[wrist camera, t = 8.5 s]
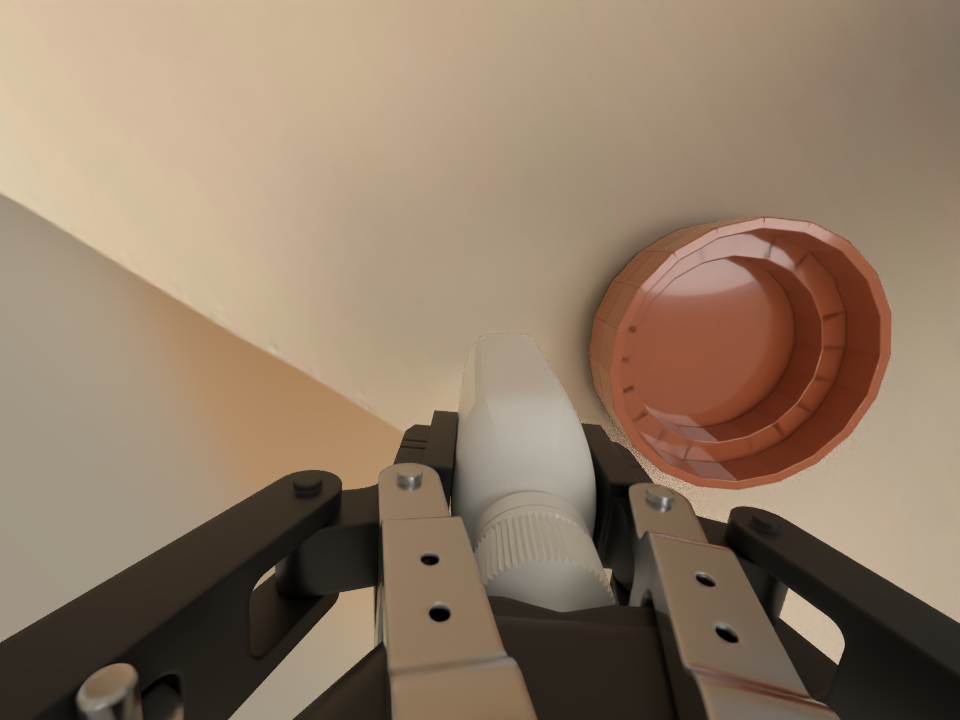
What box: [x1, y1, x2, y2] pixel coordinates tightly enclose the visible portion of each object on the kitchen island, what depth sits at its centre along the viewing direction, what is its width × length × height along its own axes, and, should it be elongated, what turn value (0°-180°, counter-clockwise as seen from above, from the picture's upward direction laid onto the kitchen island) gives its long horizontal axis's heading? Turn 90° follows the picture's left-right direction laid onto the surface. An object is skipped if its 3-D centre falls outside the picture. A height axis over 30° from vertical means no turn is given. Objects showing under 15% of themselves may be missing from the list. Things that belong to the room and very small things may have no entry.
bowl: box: [589, 217, 891, 490], centre depth 27 cm, size 15×15×5 cm
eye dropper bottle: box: [451, 334, 616, 612], centre depth 12 cm, size 4×6×12 cm
